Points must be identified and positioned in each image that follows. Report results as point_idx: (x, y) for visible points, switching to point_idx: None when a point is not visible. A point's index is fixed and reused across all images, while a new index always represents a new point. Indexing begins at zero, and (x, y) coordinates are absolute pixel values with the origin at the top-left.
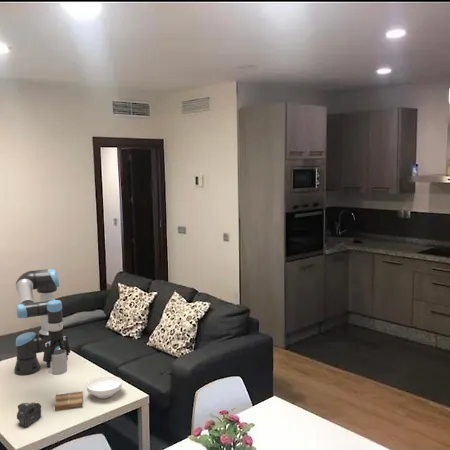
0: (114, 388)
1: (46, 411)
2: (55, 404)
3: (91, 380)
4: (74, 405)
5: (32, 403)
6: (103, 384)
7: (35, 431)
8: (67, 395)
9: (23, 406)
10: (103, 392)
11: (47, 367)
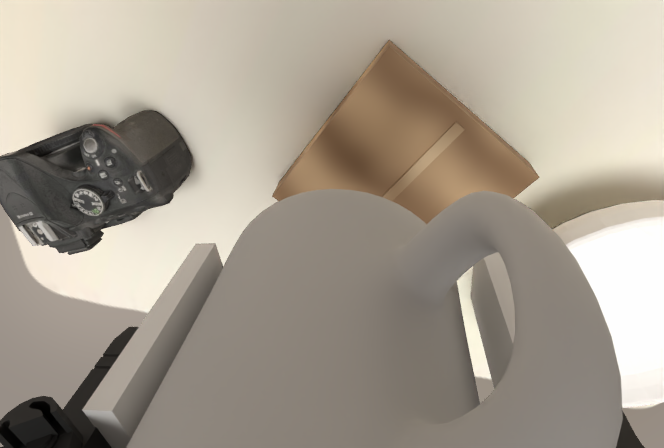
0: None
1: (243, 145)
2: (291, 180)
3: (658, 224)
4: None
5: (90, 206)
6: None
7: (124, 260)
8: (428, 140)
9: (14, 220)
10: None
11: (126, 343)
